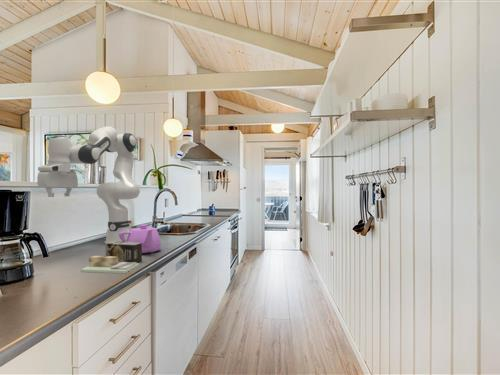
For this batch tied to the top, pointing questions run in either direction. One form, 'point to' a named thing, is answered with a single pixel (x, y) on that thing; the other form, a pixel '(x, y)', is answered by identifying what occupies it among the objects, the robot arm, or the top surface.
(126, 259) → the coffee box
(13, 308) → the top surface
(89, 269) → the board
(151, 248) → the teapot
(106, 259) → the turner
